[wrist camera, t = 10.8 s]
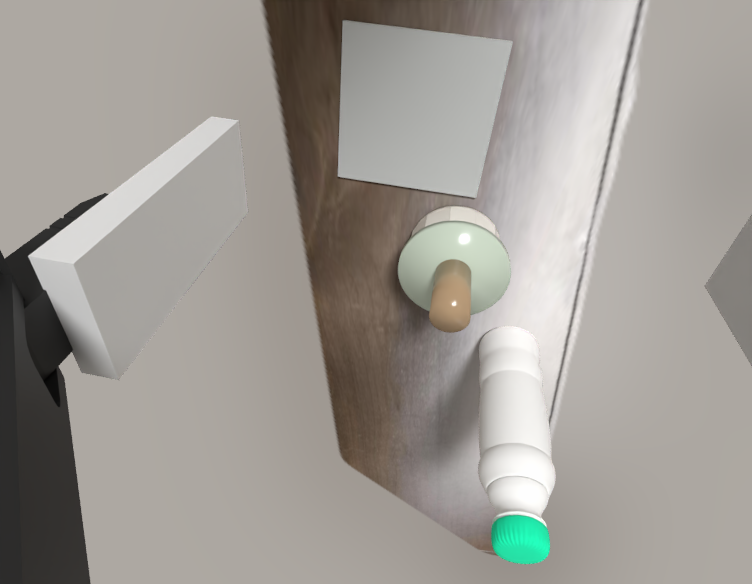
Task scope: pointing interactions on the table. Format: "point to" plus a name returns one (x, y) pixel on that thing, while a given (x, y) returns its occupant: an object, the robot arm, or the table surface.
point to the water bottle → (515, 443)
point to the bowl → (457, 218)
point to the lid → (454, 272)
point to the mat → (418, 106)
